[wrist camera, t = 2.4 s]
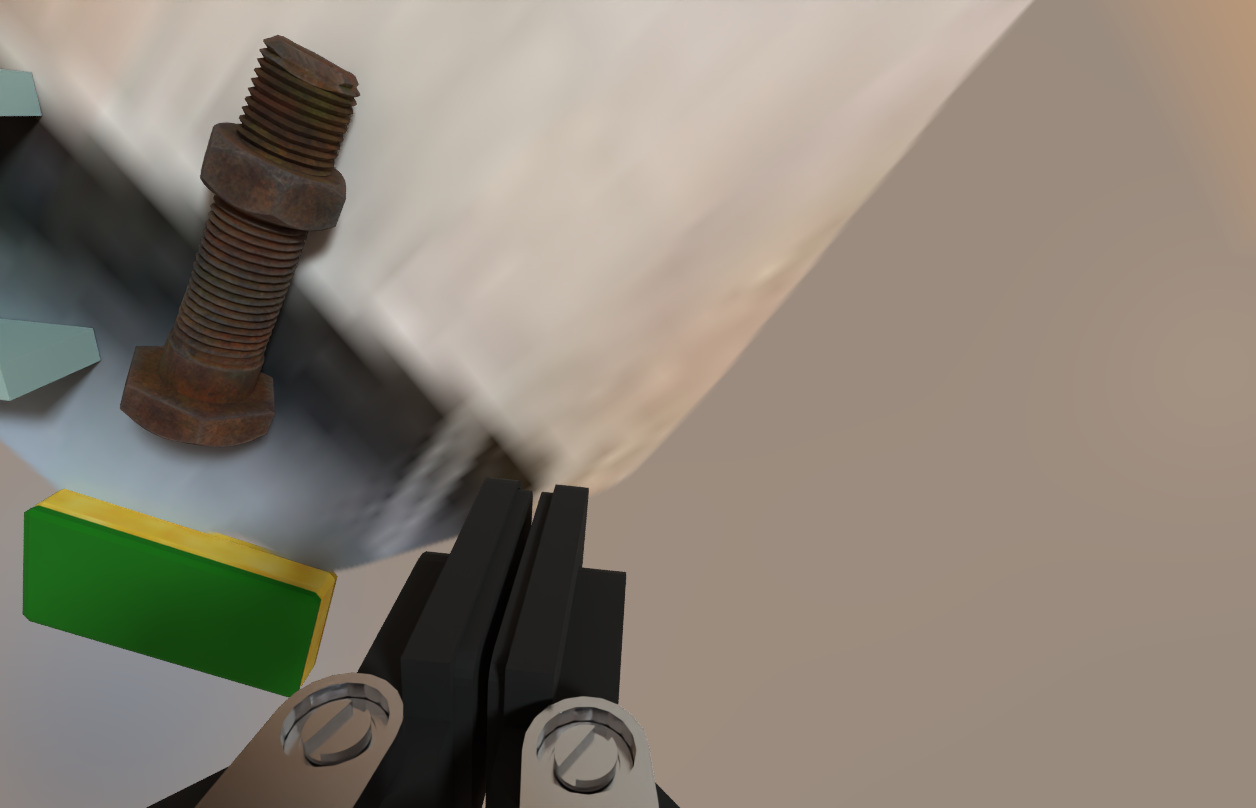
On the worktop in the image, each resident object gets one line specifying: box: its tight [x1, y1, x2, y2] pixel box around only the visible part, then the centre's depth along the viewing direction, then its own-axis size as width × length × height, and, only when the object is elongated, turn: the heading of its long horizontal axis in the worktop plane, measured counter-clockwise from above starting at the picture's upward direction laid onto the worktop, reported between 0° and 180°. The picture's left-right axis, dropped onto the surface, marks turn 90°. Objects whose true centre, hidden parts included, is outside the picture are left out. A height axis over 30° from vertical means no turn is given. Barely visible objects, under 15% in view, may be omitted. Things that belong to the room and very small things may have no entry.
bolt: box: [120, 35, 360, 447], centre depth 25 cm, size 6×5×15 cm
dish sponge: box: [23, 489, 338, 697], centre depth 34 cm, size 7×14×2 cm, turn 69°
